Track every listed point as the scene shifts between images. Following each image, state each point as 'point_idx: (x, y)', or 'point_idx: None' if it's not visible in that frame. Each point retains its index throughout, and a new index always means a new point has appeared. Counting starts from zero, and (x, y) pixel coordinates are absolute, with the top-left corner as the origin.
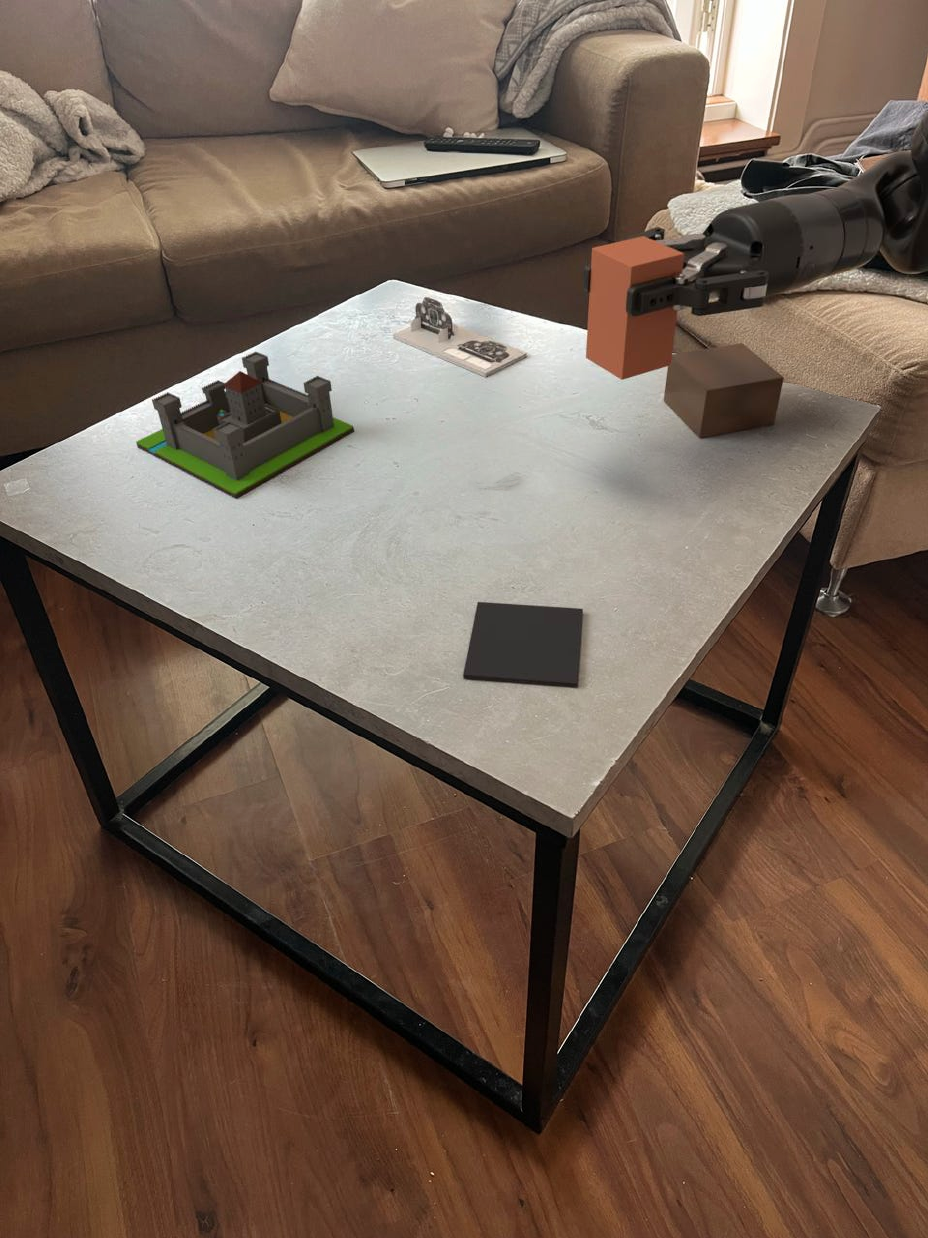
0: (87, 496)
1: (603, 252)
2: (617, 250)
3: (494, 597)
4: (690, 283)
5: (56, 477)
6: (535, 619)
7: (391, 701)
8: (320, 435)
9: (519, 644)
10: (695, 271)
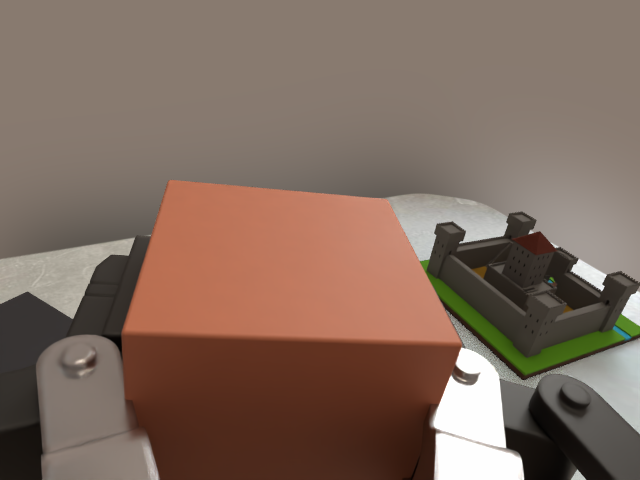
0: (441, 217)
1: (332, 196)
2: (327, 218)
3: None
4: (33, 406)
5: (474, 213)
6: (23, 365)
7: (60, 258)
8: (505, 341)
9: (8, 336)
10: (59, 439)
